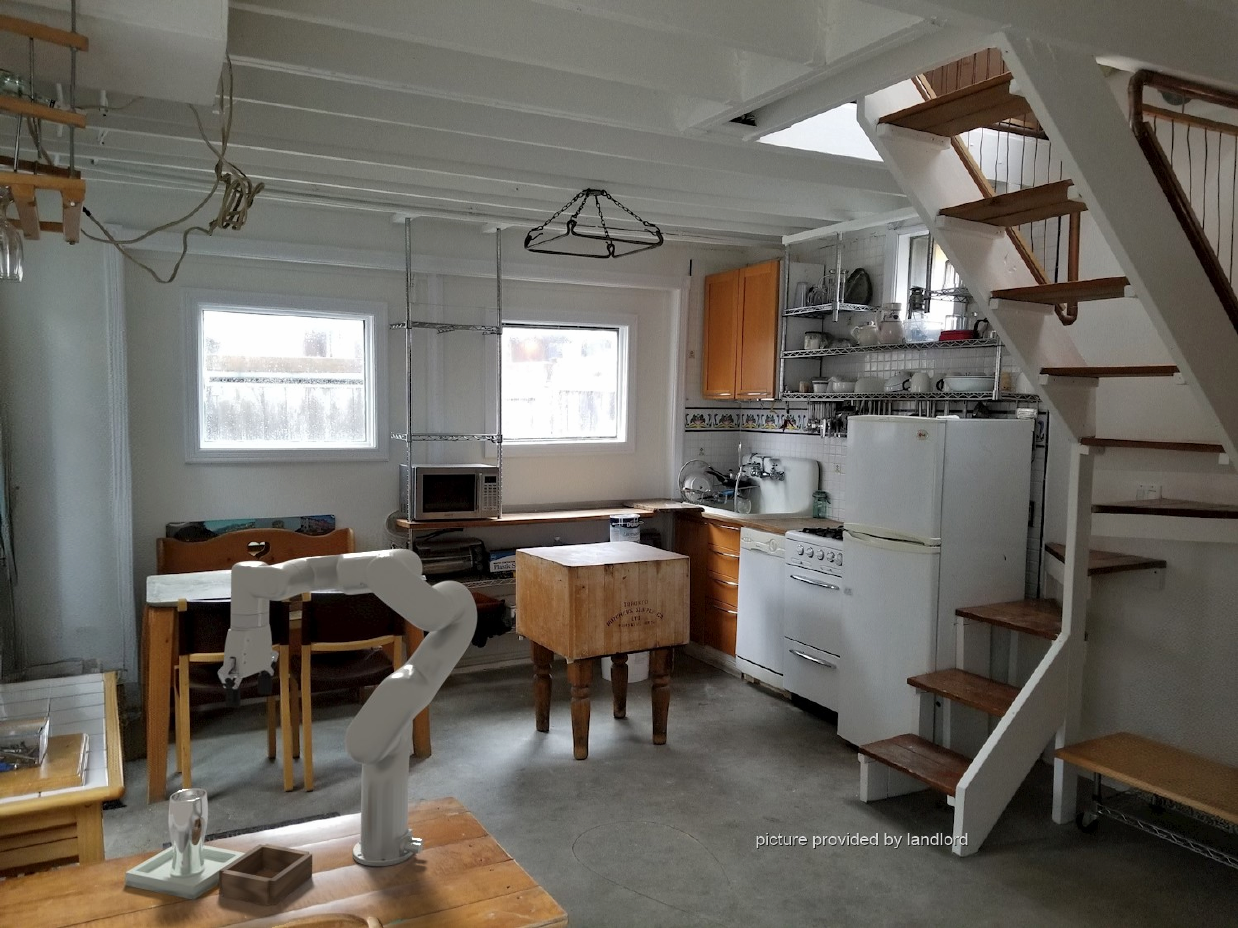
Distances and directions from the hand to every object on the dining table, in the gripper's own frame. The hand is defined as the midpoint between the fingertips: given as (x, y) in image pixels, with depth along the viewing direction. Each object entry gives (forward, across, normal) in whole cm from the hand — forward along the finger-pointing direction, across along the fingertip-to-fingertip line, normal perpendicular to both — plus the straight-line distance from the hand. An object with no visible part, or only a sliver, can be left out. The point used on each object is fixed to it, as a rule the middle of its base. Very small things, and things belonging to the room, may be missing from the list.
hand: (249, 700), depth 188 cm
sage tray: (+30, +16, -1) cm, 34 cm away
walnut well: (+30, +14, +16) cm, 37 cm away
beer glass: (+30, +16, -1) cm, 34 cm away
